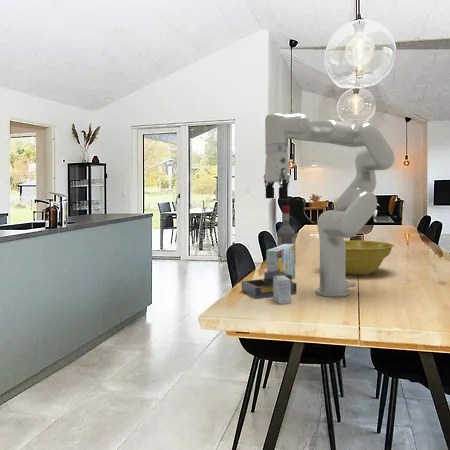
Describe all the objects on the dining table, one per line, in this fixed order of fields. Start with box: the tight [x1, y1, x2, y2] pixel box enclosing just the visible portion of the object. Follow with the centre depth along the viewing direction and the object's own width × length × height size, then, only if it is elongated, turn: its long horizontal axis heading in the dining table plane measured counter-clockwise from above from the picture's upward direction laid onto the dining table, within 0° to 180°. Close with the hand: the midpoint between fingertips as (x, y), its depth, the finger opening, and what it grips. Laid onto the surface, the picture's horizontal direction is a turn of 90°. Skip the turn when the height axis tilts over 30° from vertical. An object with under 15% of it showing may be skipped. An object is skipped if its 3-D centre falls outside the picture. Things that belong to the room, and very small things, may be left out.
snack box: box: [265, 243, 296, 279], centre depth 201 cm, size 21×6×15 cm, turn 153°
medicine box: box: [272, 276, 292, 305], centre depth 168 cm, size 8×4×9 cm, turn 9°
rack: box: [241, 271, 298, 299], centre depth 181 cm, size 17×13×7 cm
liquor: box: [276, 205, 296, 247], centre depth 243 cm, size 9×9×30 cm
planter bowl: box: [344, 240, 395, 276], centre depth 217 cm, size 32×32×13 cm
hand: (276, 198), depth 166 cm, fingers open, 9 cm apart
